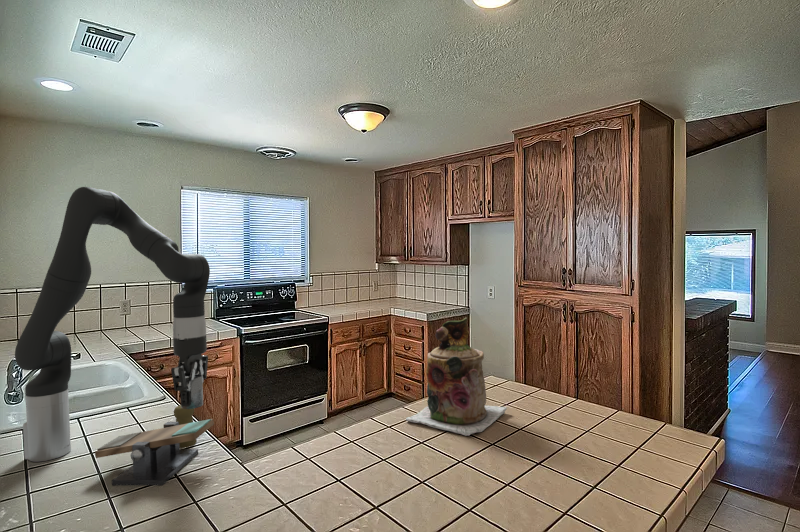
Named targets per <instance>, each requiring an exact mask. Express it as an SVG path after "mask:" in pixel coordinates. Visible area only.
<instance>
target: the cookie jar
mask: <svg viewBox="0 0 800 532" xmlns="http://www.w3.org/2000/svg"><path fill="white" fill-rule="evenodd" d="M467 322H468V317H464V318H463V319H461V320H447V321H446V322H444V323H443V324H441V325H442V326H441V327H440V328H438V329H436V331H435V335H434V336H435V338H436V340H437V341H439V342H441V343H440V344H439V346H437V347H435V348H434V349H432V351H431V352H428V353H427V358H426V360H427V366H426V371H425V374H426V383H427V386H426V387H427V388H426V394H427V396H428V398H427V400H426V403H427V406H425V407H424V408H423V409H421V410H420V411H418V413H416V414H414V415H411V416H408V417H406V418H405V421H406V422H411V423H417V424H423V425H426V426H428V427H431V428H434V429H439V430H443V431H446V432H451V433H455V434H460V435H463V436H465V437H467V436H468V437H469V436H470V435H472V434H475V433H481V432H483V431H485V430H486V429H487V428H488V427H489V426H491V425H492V424H493V423H494V422H495V421H496V420H498V419H499V418H500V417H501V416H502V415H504V414H505V413H506V410H507V409H508V407H506V406H497V405H486V404H487V389H486V382H485V378H484V376H485V375H484V369H483V360H484V358H485V356H484V355H485V354H484V351H482V350H480V349H477V348H473V347H471V346H470V345H469V344H468V343H467V342H468V337H469V334H470V331H469V330H468V325H467Z"/></svg>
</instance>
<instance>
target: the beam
mask: <svg viewBox="0 0 800 532" xmlns="http://www.w3.org/2000/svg"><path fill="white" fill-rule="evenodd" d="M214 423H215V422H214V419H213V418H209V419H203V420H200V421H199V420H197V421H193V422H192V423H187V424H182V425H177V426H171V427H166V428H164V427H160V428H156V429H151V430H145V431H138V432H135V433H134V432H132V433H129V434H124V435H118V436H117V437H115V438H113V439H112V440H110V441H108V442H107V443H105V444H104V445H101V446H100V447H99V448H97V450H95V451H94V456H95V459H100V458H104V457H110V456H114V455H120V454H121V455H122V454H126V453H132V445H133V444H135V443H136V442H150V448H154V447H160V446H165V445H170V444H176V443H181V442H187V441H192V440H197V439H198V438H199V437H200V436H202V435H203V434H204V433H206V432H207V431H208V430H210V428H211V427H213V426H214V425H215V424H214Z"/></svg>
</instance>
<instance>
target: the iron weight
mask: <svg viewBox="0 0 800 532" xmlns="http://www.w3.org/2000/svg"><path fill="white" fill-rule="evenodd" d="M189 377H190V376H185V378H189ZM203 384H204V381H203V382H202V376H194V380H193V381H192V383H191V389H190V391H191V405H190V406H188V407H183V406H181V408H182V409H194V410H195V409H197V408H200V407H202V406H204V390H203V389H204V387H203V386H204V385H203ZM186 385H187V381H186Z"/></svg>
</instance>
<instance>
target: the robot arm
mask: <svg viewBox="0 0 800 532" xmlns="http://www.w3.org/2000/svg"><path fill="white" fill-rule="evenodd" d="M92 225H100V226H107V225H108V226H110V227H112V228H115V229H117V230H119V231H121V232H123V234H125V235H126V236H127V238H128V240H129V242H130V244H131V245H132V247H133V248H134V250H136V251H138V253H140V254H141V255H142V256H144V257H145V258H147V259H148V260H150V261H151V262H153V263H154V264H155V266H156V267H157V269H158V270H159V271H160V272H161V273H162V275H164V277H166V279H168V280H169V281H172V282H173V283H178V284H183V289H182V291H180V292H178V293H176V294H175V295H174V296H173V301H172V302H173V303H172V305H173V306H172V307H173V309H172V310H173V311H172V312H173V323H172V343H173V344H172V345H173V347H172V348H173V355H174V356H177V357H178V358H179V359H178V365H177V366H175V367H171V370H170V372H171V378H172V385H173V389H174V391H175V392H180V405H181V406H183V407H188V406H190V405H191V391H190V389H191V383H192V381H193V380H194V376H202V382H203V383H204V380H206V379H207V378H208V367H209V366H208V364H209V363H208V362H209V356H208V355H202V354H205V353H206V352H207V350H208V348H207V347H208V345H207V342H208V341H207V323H206V316H205V312H206V311H205V298H206V297H205V296H206V293H207V289H208V284H209V281H210V280H209V279H210V274H211V273H210V272H211V271H210V269H211V268H210V265H209V261H208V260H207V258H206V257H205V256H203V255H202V254H199V253H182V252H179V246H178V243H176V242H175V241H174V240H172V239H171V238H170V237H168V236H167V235H166V234H164V233H163V232H161V231H159V230H158V229H156V228H155V227H154V226H153V225H151V224H149V222H147V221H146V220H144V218H142V216H140V215H139V214H138V213H136V211H134V209H132V207H130V206H129V204H128V203H127V202H126V201H125V200H123V199H122V197H120V196H119V195H118V194H116V193H115V192H113V191H111V190H105V189H102V188H95V187H90V186H81V187H78V188H76V189H75V190H74V191H73V192H72V194H71V196H70V197H69V199H68V202H67V205H66V209H65V214H64V218H63V222H62V227H61V231H60V235H59V239H58V242H57V245H56V247H55V251H54V254H53V257H52V259H51V262H50V264H49V266H48V269H47V273H46V275H45V278H44V280H43V284H42V286H41V290H40V293H39V296H38V298H37V300H36V303H35V306H34V308H33V311H32V313H31V315H30V317H29V319H28V321H27V323H26V325H25V326H24V329H23V331H22V333H21V334H20V337H19V338H18V341H17V343H16V347H15V351H14V359H15V360H14V361H15V363H16V364H17V367H19V368H20V369H22V370H23V371H36V370H39V372H38V374H37V375H35V377H33V379H31V380H30V381H29V382H28V383H26V385H25V388H24V389H25V390H24V394H25V409H26V410H25V413H26V414H25V418H26V422H24V423H23V424H22V431H23V452H24V460H28V461H30V462H45V461H50V460H54V459H57V458H61V457H63V456H65V455H68V454H69V453H70V452H71V450H72V446H71V445H72V444H71V422H70V420H71V419H70V401H69V400H70V399H69V382H70V380H71V375H72V345H71V341H70V339H69V338H68V336H67V334H65V333H64V332H62V331H59V330H56V327H57V326H58V325H59V323H60V322H61V320H63V318H64V317H65V316H66V315H67V314H69V312H70V311H72V310H73V308H74V307H75V306H76V305H77V304H78V303H79V302H80V300H81V299H82V298H83V296H84V295H85V292H86V290H87V287H88V284H89V283H90V279H91V276H92V266H91V261H90V257H89V255H88V250H87V240H88V236H89V233H90V229H91V227H92ZM186 376H190V377H189V378H185V377H186ZM186 381H187V385H186Z"/></svg>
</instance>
